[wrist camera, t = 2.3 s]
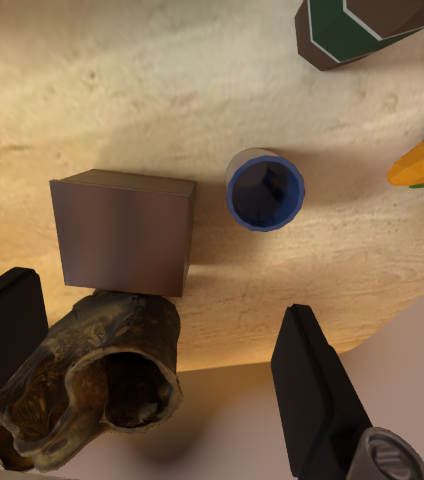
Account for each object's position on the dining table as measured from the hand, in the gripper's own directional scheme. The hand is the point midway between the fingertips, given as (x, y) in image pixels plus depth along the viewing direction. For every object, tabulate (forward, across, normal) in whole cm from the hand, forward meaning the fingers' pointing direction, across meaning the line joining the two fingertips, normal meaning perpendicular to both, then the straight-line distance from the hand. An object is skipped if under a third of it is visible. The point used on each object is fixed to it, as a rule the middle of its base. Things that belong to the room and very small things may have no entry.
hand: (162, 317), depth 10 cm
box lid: (+16, +8, +5) cm, 19 cm away
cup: (+23, -5, -2) cm, 24 cm away
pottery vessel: (+23, +11, +20) cm, 32 cm away
